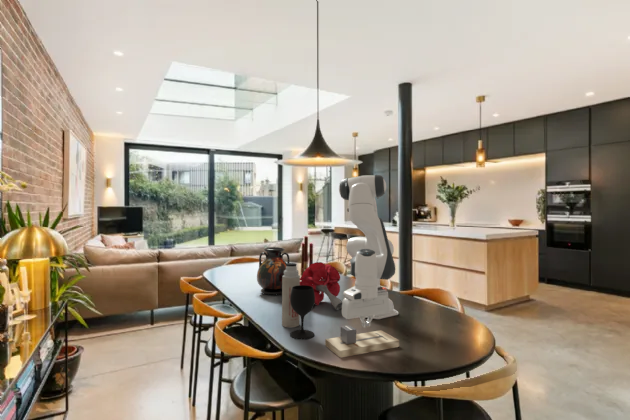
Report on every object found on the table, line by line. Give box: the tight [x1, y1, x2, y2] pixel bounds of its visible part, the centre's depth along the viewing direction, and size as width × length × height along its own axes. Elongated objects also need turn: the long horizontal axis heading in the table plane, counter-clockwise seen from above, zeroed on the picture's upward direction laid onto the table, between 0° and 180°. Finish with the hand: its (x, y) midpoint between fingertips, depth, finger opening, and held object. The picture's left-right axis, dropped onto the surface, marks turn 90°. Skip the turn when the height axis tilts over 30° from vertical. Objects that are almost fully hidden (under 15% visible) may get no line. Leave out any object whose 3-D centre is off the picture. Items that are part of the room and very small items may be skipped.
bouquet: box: [300, 261, 343, 311], centre depth 192 cm, size 22×24×30 cm
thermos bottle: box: [281, 262, 301, 328], centre depth 159 cm, size 8×8×28 cm
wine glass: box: [289, 285, 315, 340], centre depth 146 cm, size 10×10×20 cm
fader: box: [340, 324, 357, 344], centre depth 133 cm, size 4×5×5 cm
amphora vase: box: [256, 246, 290, 296], centre depth 218 cm, size 22×22×28 cm
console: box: [324, 330, 400, 359], centre depth 135 cm, size 26×12×3 cm, turn 114°
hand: (366, 326), depth 136 cm, fingers closed
